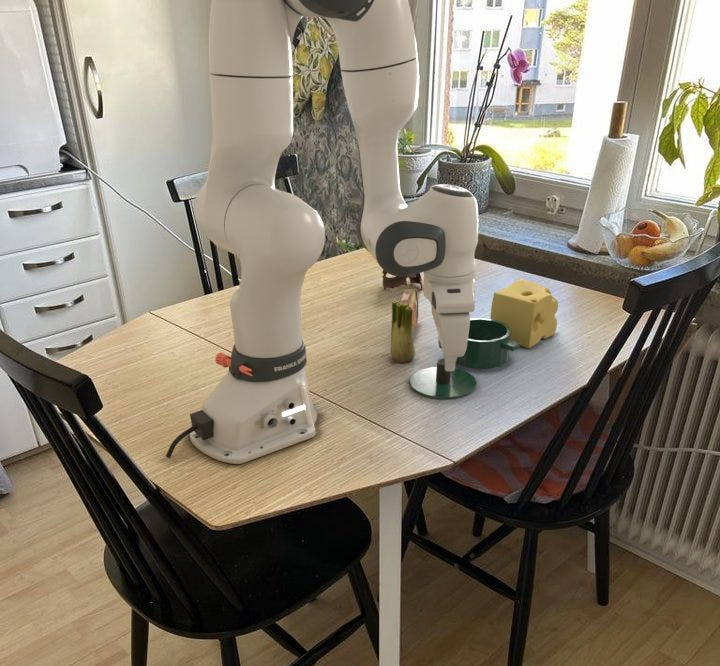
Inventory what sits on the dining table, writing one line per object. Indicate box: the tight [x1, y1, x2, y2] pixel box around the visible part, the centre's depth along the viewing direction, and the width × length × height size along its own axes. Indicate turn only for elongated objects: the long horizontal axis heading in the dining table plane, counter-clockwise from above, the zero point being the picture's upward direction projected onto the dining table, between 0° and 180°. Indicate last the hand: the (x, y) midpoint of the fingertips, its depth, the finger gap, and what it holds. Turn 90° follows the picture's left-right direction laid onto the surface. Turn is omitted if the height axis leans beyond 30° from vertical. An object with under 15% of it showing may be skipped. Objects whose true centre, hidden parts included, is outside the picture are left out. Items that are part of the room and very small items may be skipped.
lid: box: [409, 358, 477, 400], centre depth 133 cm, size 12×12×5 cm
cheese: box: [489, 278, 559, 349], centre depth 150 cm, size 10×11×10 cm
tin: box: [398, 288, 419, 334], centre depth 152 cm, size 15×3×8 cm, turn 168°
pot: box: [455, 317, 521, 370], centre depth 142 cm, size 11×17×6 cm
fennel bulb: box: [390, 300, 416, 364], centre depth 140 cm, size 6×5×12 cm
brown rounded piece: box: [381, 269, 424, 291], centre depth 176 cm, size 12×10×8 cm
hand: (446, 357), depth 132 cm, fingers open, 8 cm apart
